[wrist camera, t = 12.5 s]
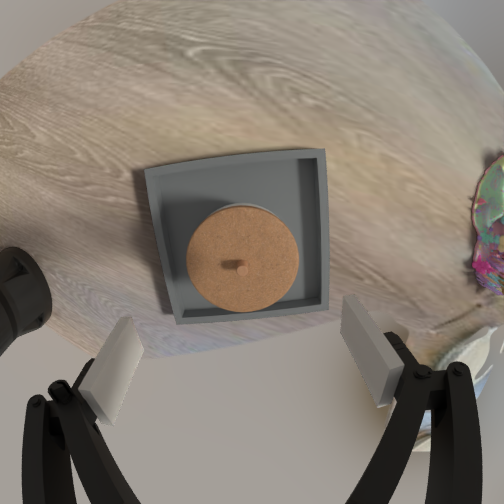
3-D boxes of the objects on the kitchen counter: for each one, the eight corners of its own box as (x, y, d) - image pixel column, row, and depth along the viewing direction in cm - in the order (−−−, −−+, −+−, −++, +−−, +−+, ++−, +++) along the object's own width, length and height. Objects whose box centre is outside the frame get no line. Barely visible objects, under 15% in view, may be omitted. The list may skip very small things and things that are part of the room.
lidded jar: (201, 280, 35) (188, 321, 26) (195, 196, 31) (176, 212, 22) (286, 279, 35) (298, 320, 26) (288, 194, 31) (305, 210, 23)
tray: (180, 314, 37) (176, 324, 35) (151, 168, 30) (144, 169, 28) (323, 300, 37) (328, 309, 35) (319, 148, 30) (324, 148, 28)
